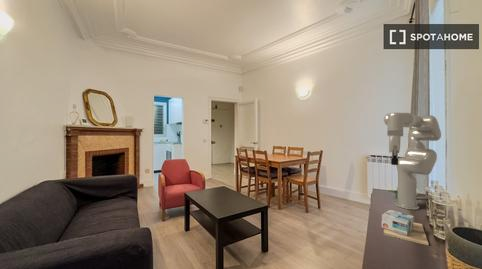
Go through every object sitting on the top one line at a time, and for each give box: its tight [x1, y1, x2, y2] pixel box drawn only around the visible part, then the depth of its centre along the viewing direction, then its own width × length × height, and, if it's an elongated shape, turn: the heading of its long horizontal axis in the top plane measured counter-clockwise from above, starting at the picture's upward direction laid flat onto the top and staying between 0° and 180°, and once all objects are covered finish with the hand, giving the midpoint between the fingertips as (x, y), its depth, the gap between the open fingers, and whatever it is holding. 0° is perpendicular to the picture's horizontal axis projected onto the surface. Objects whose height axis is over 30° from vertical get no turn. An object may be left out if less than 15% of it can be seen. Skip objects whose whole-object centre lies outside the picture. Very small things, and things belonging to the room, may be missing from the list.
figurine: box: [387, 187, 398, 200], centre depth 151 cm, size 3×12×8 cm, turn 56°
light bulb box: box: [381, 209, 415, 235], centre depth 104 cm, size 11×7×11 cm
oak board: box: [383, 222, 429, 246], centre depth 104 cm, size 22×16×1 cm
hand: (394, 164), depth 124 cm, fingers closed
